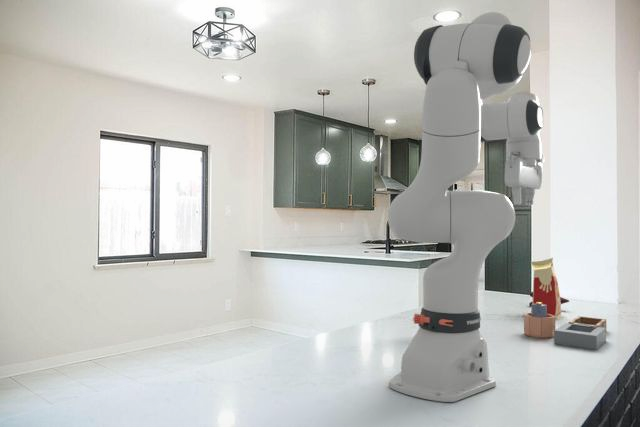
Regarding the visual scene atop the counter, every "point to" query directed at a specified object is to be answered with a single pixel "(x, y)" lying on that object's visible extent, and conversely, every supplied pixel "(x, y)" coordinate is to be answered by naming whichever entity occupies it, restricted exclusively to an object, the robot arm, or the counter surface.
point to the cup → (539, 326)
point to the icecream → (560, 299)
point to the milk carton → (546, 287)
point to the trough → (589, 321)
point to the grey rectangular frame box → (580, 335)
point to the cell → (539, 310)
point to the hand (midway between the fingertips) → (523, 204)
